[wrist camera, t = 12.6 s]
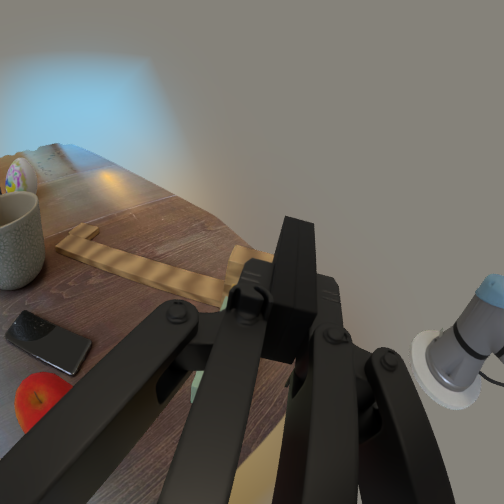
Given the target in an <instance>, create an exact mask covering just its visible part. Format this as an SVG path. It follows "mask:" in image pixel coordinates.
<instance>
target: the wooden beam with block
mask: <svg viewBox="0 0 504 504" xmlns="http://www.w3.org/2000/svg"><path fill="white" fill-rule="evenodd" d="M97 234H99V227H96V226H92V225H89V224H86V223H81V224H79V225H78V226H77V227H75V228H74V229H72V230H71V231H70V232H68V236H67V237H66V238H64V239H63V240H62V241H61V242H59V243H58V244H57V245H56V246H55V249H56V252H58V253H60V254H63V255H65V256H68V257H70V258H73V259H75V260H78V261H80V262H83V263H86V264H88V265H91V266H94V267H96V268H99V269H102V270H104V271H107V272H110V273H113V274H115V275H118V276H121V277H124V278H127V279H130V280H133V281H136V282H139V283H142V284H145V285H148V286H151V287H154V288H157V289H160V290H163V291H166V292H169V293H172V294H176V295H179V296H182V297H185V298H189V299H192V300H195V301H199V302H202V303H205V304H209V305H212V306H216V307H219V308H220V309H221V307H222V304H223V301H224V299H225V296H228V295H229V291H230V289H231V287H232V284H237V283H238V280H239V278H240V275H241V272H242V269H243V267H244V264H245V262H247V261H248V260H249V259H251V258H256V259H260V260H264V261H267V262H271V263H272V261H273V258H274V255H273V254H269V253H265V252H262V251H257V250H254V249H250V248H246V247H242V246H239V245H235V247H234V249H233V251H232V254H231V256H230V258H229V260H228V265H227V271H226V276H225V281H223V280H220V279H216V278H212V277H209V276H205V275H202V274H198V273H195V272H191V271H188V270H184V269H181V268H177V267H174V266H170V265H167V264H164V263H160V262H157V261H154V260H150V259H147V258H144V257H140V256H137V255H134V254H131V253H127V252H124V251H121V250H118V249H115V248H112V247H108V246H105V245H102V244H99V243H96V242H93V241H90V240H91V239H93V238H94V237H95V236H96V235H97ZM219 311H220V310H219Z"/></svg>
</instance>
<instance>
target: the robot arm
mask: <svg viewBox="0 0 504 504" xmlns="http://www.w3.org/2000/svg"><path fill="white" fill-rule="evenodd" d="M315 251H316V250H315V233H314V223H310V222H306V221H303V220H299V219H295V218H292V217H288V216H285V218H284V222H283V225H282V229H281V233H280V236H279V240H278V243H277V247H276V251H275V254H274V258H273V261H272V263H271V262H267V261H264V260H260V259H256V258H251V259H249V260H248V261H247V262H245V264H244V267H243V269H242V272H241V275H240V278H239V280H238V283H237V284H236V285H234V286H233V287H232V288H231V289H230V291H229V295H228V300H227V306H226V308H225V309H223V310H221V311H219V312H215V313H199V312H198V310H197V309H196V307H195V306H194V305H192V304H191V303H190V302H187V301H184V300H176V299H173V300H169V301H166V302H164V303H162V304H161V305H159V306H158V307H157V308H156V309H155V310H154V311H153V312H152V313H151V314H150V315H148V316H147V317H146V318H145V319H144V320H143V321H142V322H141V323H140V324H139V325H138V326H137V327H135V328H134V329H133V330H132V331H131V332H130V333H129V334H128V335H127V336H126V337H125V338H124V339H123V340H122V341H120V342H119V343H118V344H117V345H116V346H115V347H114V348H113V349H112V350H111V351H110V352H109V353H108V354H107V355H106V356H105V357H103V358H102V359H101V360H100V361H99V362H98V363H97V364H96V365H95V366H94V367H93V368H92V369H91V370H90V371H89V372H88V373H87V374H86V375H85V376H84V377H83V378H82V379H80V380H79V381H78V382H77V383H76V384H75V385H74V386H73V387H72V388H71V389H70V390H69V391H68V392H67V393H66V394H65V395H64V396H63V397H62V398H61V399H60V400H59V401H58V402H57V403H56V404H55V405H54V406H53V407H52V408H51V409H50V410H49V411H48V412H47V413H46V414H45V415H44V416H43V417H42V418H41V419H40V420H39V421H38V422H37V423H36V424H35V425H34V426H33V427H32V428H31V429H30V430H29V431H28V432H27V433H26V434H25V435H24V436H23V437H22V438H21V439H20V440H19V441H18V442H17V443H16V444H15V445H14V446H13V447H12V448H11V450H10V451H9V452H8V453H7V454H6V455H5V456H4V457H3V458H2V459H1V460H0V504H86V503H87V502H88V501H89V499H90V498H91V497H92V496H93V495H94V494H95V492H96V491H97V490H98V489H99V488H100V487H101V485H102V484H103V483H104V482H105V481H106V479H107V478H108V477H109V476H110V475H111V474H112V472H113V471H114V470H115V469H116V468H117V466H118V465H119V464H120V463H121V461H122V460H123V459H124V458H125V457H126V455H127V454H128V453H129V452H130V451H131V449H132V448H133V447H134V446H135V444H136V443H137V442H138V441H139V439H140V438H141V437H142V436H143V434H144V433H145V432H146V431H147V430H148V428H149V427H150V426H151V425H152V423H153V422H154V421H155V420H156V418H157V417H158V416H159V414H160V413H161V412H162V411H163V409H164V408H165V407H166V406H167V404H168V403H169V402H170V400H171V399H172V398H173V397H174V395H175V394H176V393H177V392H178V390H179V389H180V388H181V386H182V385H183V384H184V383H185V381H186V380H187V379H188V377H189V376H190V375H191V373H192V372H193V371H204V372H203V375H202V378H201V380H200V383H199V386H198V389H197V392H196V394H195V397H194V400H193V403H192V406H191V409H190V411H189V414H188V417H187V420H186V423H185V425H184V428H183V431H182V434H181V437H180V440H179V442H178V445H177V448H176V451H175V454H174V457H173V459H172V462H171V465H170V468H169V471H168V474H167V476H166V479H165V482H164V485H163V488H162V491H161V494H160V497H159V499H158V502H157V504H228V502H229V498H230V493H231V490H232V486H233V481H234V477H235V473H236V469H237V465H238V460H239V456H240V451H241V447H242V443H243V438H244V434H245V429H246V424H247V420H248V415H249V411H250V406H251V401H252V396H253V391H254V387H255V382H256V377H257V372H258V367H259V362H260V357H261V358H265V359H269V360H274V361H278V362H283V363H287V364H292V363H293V361H294V359H295V357H296V362H295V368H294V369H293V371H292V373H291V375H290V376H289V378H288V380H287V382H286V384H285V387H288V385H289V393H288V401H287V409H286V417H285V424H284V432H283V439H282V446H281V452H280V459H279V465H278V471H277V477H276V483H275V488H274V494H273V499H272V504H357V496H358V495H357V494H358V485H359V490H360V495H361V500H362V504H455V500H454V496H453V492H452V489H451V485H450V482H449V478H448V475H447V471H446V468H445V465H444V462H443V459H442V456H441V453H440V450H439V447H438V444H437V441H436V438H435V436H434V433H433V430H432V428H431V425H430V422H429V420H428V417H427V415H426V412H425V409H424V407H423V405H422V402H421V400H420V397H419V395H418V392H417V390H416V388H415V385H414V383H413V381H412V379H411V376H410V374H409V372H408V370H407V367H406V365H405V363H404V361H403V359H402V358H401V356H400V355H399V354H398V353H397V352H395V351H394V350H392V349H389V348H385V347H381V348H377V349H376V350H375V351H374V352H373V353H370V352H368V351H366V350H364V349H361V348H359V347H358V346H356V345H354V344H353V343H352V339H351V336H350V334H349V333H348V331H347V330H346V329H345V328H343V319H342V311H341V303H340V296H339V295H340V293H339V286H338V284H337V283H336V282H335V280H334V278H332V277H329V276H325V275H321V274H317V272H316V252H315ZM475 293H476V294H475V295H474V297H473V298H472V300H471V301H470V303H469V304H468V305H467V307H466V308H465V310H464V311H463V313H462V314H461V315H460V317H459V318H458V319H457V321H456V322H455V324H454V325H453V326H452V327H451V328H449V329H447V330H446V331H445V332H443V328H442V329H441V330H440V332H439V336H437V337H436V338H434V339H433V340H432V341H431V342H430V344H429V345H428V346H427V348H426V352H425V359H426V363H427V366H428V368H429V370H430V372H431V374H432V375H433V377H434V378H435V379H436V380H437V382H438V383H439V384H441V385H442V386H443V387H445V388H446V389H448V390H450V391H453V392H463V391H465V390H466V389H467V388H468V387H470V386H471V385H472V384H473V382H474V381H475V379H476V376H477V375H478V374H479V375H481V376H482V377H483V378H484V379H486V380H487V381H489V382H491V383H493V384H496V385H499V386H503V387H504V383H500V382H497V381H495V380H492V379H490V378H489V377H487V376H486V375H485V374H484V373H482V372H481V371H480V369H481V367H482V365H483V363H484V361H485V360H486V358H487V357H488V356H489V355H490V354H491V353H492V352H493V353H494V354H495V355H496V356H497V357H498V358H499V359H500V361H501V362H502V363H503V364H504V276H502V275H498V274H491V275H488V276H487V277H486V278H485V279H484V281H483V282H482V284H481V285H480V287H479V288H478V289H477V290H476V292H475Z"/></svg>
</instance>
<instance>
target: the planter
mask: <svg viewBox="0 0 504 504" xmlns="http://www.w3.org/2000/svg"><path fill="white" fill-rule="evenodd" d="M44 260H45V245H44V238H43V232H42V225H41V216H40V208H39V200H38V197H37V195H35V194H34V193H32V192H27V191H16V192H10V193H5V194H2V195H0V289H2V290H16V289H19V288H22V287H24V286H26V285H27V284H29V283H30V282H31V281H33V280H34V279H35V277H36V276H37V275H38V274H39V272H40V270H41V268H42V266H43V264H44Z"/></svg>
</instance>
